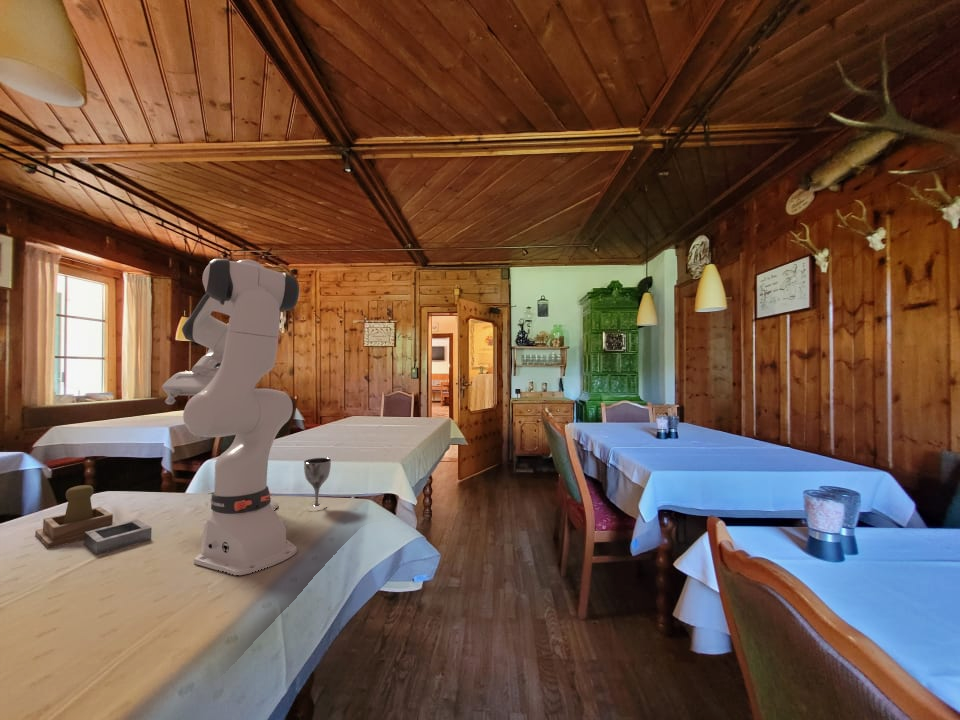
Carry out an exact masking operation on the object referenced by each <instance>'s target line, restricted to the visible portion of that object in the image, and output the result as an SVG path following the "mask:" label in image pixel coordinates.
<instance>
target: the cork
mask: <svg viewBox="0 0 960 720" xmlns="http://www.w3.org/2000/svg"><path fill="white" fill-rule="evenodd" d="M94 492H95V491H94V487H93V486H92V485H87V484H86V485H85V484H84V485H82V484H81V485H76V486H73V487H70V488H68V489H67V490H66V492H65V498H66V500H67V506H66V509H65V510H66V511H65V518H64V523H63V524H68V523H72V522H77V521H81V520H86V519H90V518H93V513H92V508H93V507H92V500H91V497H92V496H93V495H94Z"/></svg>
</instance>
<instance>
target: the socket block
mask: <svg viewBox="0 0 960 720" xmlns="http://www.w3.org/2000/svg"><path fill="white" fill-rule="evenodd" d="M150 540H152V526H150V525H148V524H146V523H145V522H143V521H141V520H139V519H132V520H128V521H123V522H121V523H116V524H115V525H111V526H107V527H103V528H99V529H95V530H91V531H87V532H84V539H83V545H84V546H85V547H86V548H87V549H89V550H90V551H91V552H93V554H95V555H96V556H99V555H101V554H104V553H108V551H109V552H111V551H115V550H119V549H122V548H127V547H129V546H132V545H136V544H139V543H144V542H148V541H150Z"/></svg>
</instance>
